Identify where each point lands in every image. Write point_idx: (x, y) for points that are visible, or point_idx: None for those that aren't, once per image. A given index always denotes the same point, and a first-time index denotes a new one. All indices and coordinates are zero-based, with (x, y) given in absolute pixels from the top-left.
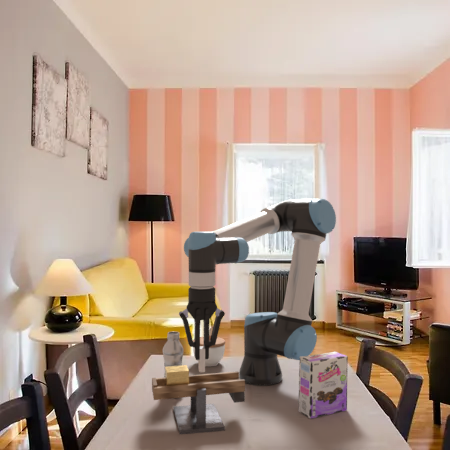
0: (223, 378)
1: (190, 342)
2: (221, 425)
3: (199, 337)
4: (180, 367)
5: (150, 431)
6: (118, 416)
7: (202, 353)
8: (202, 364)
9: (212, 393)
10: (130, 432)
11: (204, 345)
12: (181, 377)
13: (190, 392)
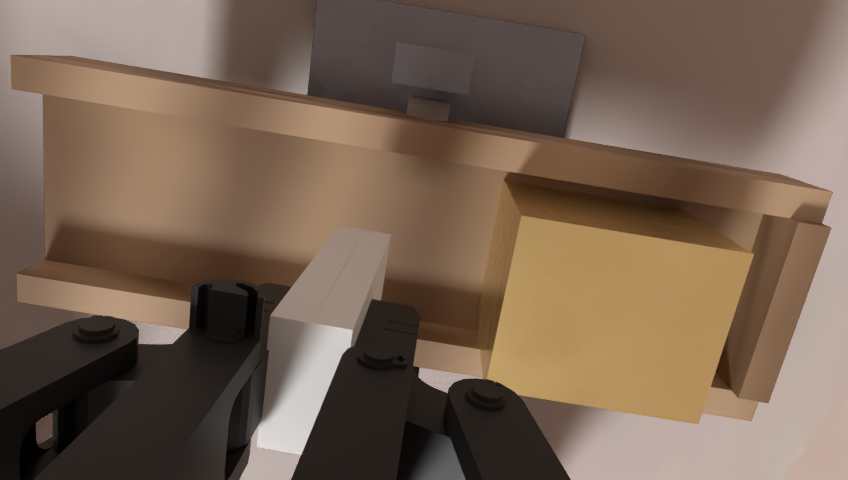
0: (173, 282)
1: (505, 423)
2: (331, 13)
3: (317, 445)
4: (566, 344)
5: (721, 130)
6: (817, 373)
7: (326, 297)
8: (351, 253)
9: (331, 99)
10: (827, 156)
11: (255, 380)
12: (586, 212)
13: (506, 132)
